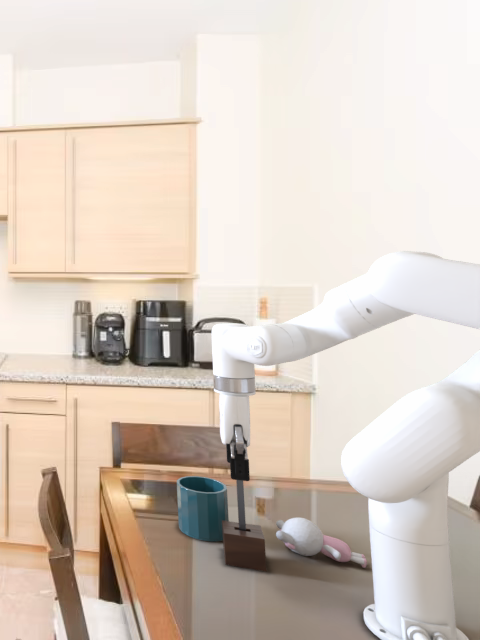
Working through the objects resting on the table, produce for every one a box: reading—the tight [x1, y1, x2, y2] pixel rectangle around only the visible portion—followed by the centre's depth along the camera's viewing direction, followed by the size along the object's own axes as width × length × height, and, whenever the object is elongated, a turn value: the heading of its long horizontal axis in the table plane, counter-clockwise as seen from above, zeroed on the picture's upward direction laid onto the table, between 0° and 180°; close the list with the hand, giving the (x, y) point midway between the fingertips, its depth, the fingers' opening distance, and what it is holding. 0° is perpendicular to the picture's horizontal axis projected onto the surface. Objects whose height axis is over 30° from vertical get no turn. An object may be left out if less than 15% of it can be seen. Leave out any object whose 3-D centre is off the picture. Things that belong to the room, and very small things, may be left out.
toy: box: [275, 517, 368, 569], centre depth 102 cm, size 8×7×15 cm
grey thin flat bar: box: [235, 480, 247, 531], centre depth 102 cm, size 1×2×16 cm, turn 66°
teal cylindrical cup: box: [176, 475, 230, 542], centre depth 114 cm, size 10×10×10 cm
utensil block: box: [222, 520, 268, 572], centre depth 101 cm, size 6×7×6 cm
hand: (237, 471), depth 103 cm, fingers open, 9 cm apart
